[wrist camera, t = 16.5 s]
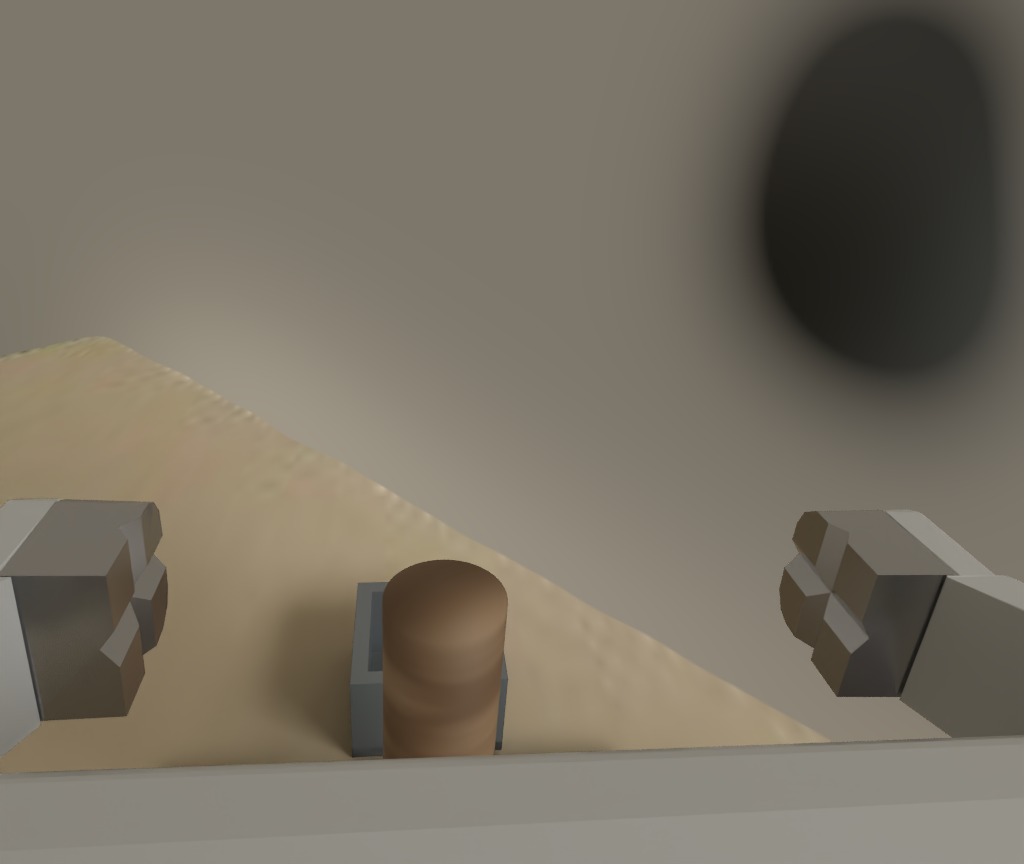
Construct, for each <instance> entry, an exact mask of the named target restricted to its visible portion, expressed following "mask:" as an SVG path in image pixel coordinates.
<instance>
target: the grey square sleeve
mask: <svg viewBox="0 0 1024 864" xmlns="http://www.w3.org/2000/svg"><path fill="white" fill-rule="evenodd" d="M388 583H389V582H378V583H358V591H357V603H356V615H355V628H354V640H353V653H352V665H351V677H350V702H351V731H352V757H363V756H383V640H382V597H383V592H384V590H385V587H386V586H387V584H388ZM507 683H508V676H507V669H506V663H505V656H504V651H503V662H502V674H501V685H500V696H499V707H498V718H497V730H496V741H495V750H501V748H502V737H503V727H504V716H505V705H506V694H507Z"/></svg>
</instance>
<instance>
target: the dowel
mask: <svg viewBox="0 0 1024 864" xmlns="http://www.w3.org/2000/svg"><path fill="white" fill-rule="evenodd" d="M507 607H508V598H507V593H506V591H505V588H504V587H503V585H502V583H501V582H500V581H499V580H498V579H497V578H496V577H495V576H494V575H493V574H491V573H490V572H488V571H487V570H485V569H483V568H481V567H479V566H476V565H473V564H470V563H467V562H462V561H456V560H433V561H427V562H422V563H419V564H415V565H413V566H410V567H408V568H406V569H404V570H402V571H401V572H399V573H398V574H397V575H395V576H394V577H393V578H392V579H391V580H390V581H389V583H388V584H387V586H386V587H385V590H384V592H383V597H382V640H383V759H401V758H428V757H455V756H481V755H494V752H495V741H496V730H497V718H498V707H499V696H500V685H501V674H502V662H503V651H504V640H505V629H506V618H507Z"/></svg>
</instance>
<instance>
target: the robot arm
mask: <svg viewBox="0 0 1024 864" xmlns="http://www.w3.org/2000/svg"><path fill="white" fill-rule="evenodd" d="M161 537H162V528H161V521H160V514H159V510H158V508H157V507H156V505H155V503H154V502H136V501H103V500H71V499H64V500H61V499H59V498H43V499H13V500H8V501H7V502H6V503H5V504H4V505H3V506H2V507H1V508H0V758H1V757H2V756H4V755H5V754H6V753H7V752H8V751H10V750H11V749H12V748H13V747H15V746H16V745H17V744H18V743H19V742H21V741H22V740H23V739H24V738H26V737H27V736H28V735H29V734H31V733H32V732H33V731H34V730H35V729H37V728H38V727H39V726H40V725H41V722H40V721H48V720H67V719H85V718H104V717H123V716H127V714H128V712H129V709H130V707H131V705H132V702H133V700H134V698H135V695H136V693H137V691H138V688H139V686H140V683H141V681H142V679H143V676H144V674H145V669H144V660H143V655H144V654H145V653H146V652H148V651H149V650H151V649H152V648H154V647H155V646H156V645H157V643H158V640H159V637H160V635H161V632H162V630H163V626H164V620H165V615H166V609H167V596H168V583H167V572H166V567H165V566H164V565H163V564H162V563H161V562H160V561H159V560H158V559H157V557H156V556H155V555H154V552H155V550H156V548H157V546H158V544H159V541H160V539H161ZM792 540H793V542H794V544H795V546H796V548H797V550H798V552H799V554H798V555H797V556H796V557H795V558H794V559H793V560H792V561H791V562H790V563H789V564H788V565H787V566H786V567H784V571H783V576H782V580H781V584H780V589H779V591H780V605H781V611H782V614H783V617H784V620H785V622H786V624H787V626H788V627H789V629H790V630H791V632H792V633H793V635H794V636H795V637H796V638H798V639H800V640H801V641H803V642H804V643H806V644H808V645H809V646H811V647H813V648H814V650H813V654H812V658H811V661H812V662H813V664H814V665H815V666H816V668H817V669H818V671H819V672H820V674H821V675H822V676H823V678H824V679H825V681H826V682H827V684H828V685H829V686H830V688H831V689H832V691H833V692H834V693H835V695H836V696H837V697H900V700H901V701H902V702H903V703H905V704H906V705H908V706H909V707H910V708H912V709H913V710H915V711H916V712H918V713H919V714H920V715H921V716H923V717H924V718H926V719H927V720H929V721H930V722H931V723H933V724H934V725H935V726H937V727H938V728H940V729H941V730H942V731H944V732H945V733H946V734H948V735H949V736H951V737H952V738H934V739H910V740H909V739H907V740H883V741H854V742H828V743H801V744H775V745H748V746H722V747H695V748H669V749H642V750H615V751H588V752H562V753H535V754H508V755H481V756H455V757H428V758H401V759H374V760H347V761H321V762H294V763H267V764H240V765H214V766H187V767H160V768H133V769H107V770H80V771H53V772H26V773H0V864H1024V583H1023V582H1020V581H1018V580H1015V579H1013V578H1011V577H1008V576H995V575H994V574H993V573H992V572H991V571H989V570H988V569H987V568H986V567H984V565H982V564H981V563H980V562H979V561H978V560H976V559H975V558H974V557H973V556H972V555H970V554H969V553H968V552H967V551H966V550H965V549H963V548H962V547H961V546H960V545H959V544H957V543H956V542H955V541H954V540H953V539H952V538H950V537H949V536H948V535H947V534H945V533H944V532H943V531H942V530H941V529H940V528H938V527H937V526H936V525H935V524H934V523H933V522H931V521H930V520H929V519H928V518H927V517H925V516H924V515H923V514H922V513H920V512H916V511H913V510H862V511H861V510H860V511H811V512H804V514H803V515H802V517H801V518H800V520H799V521H798V522H797V525H796V528H795V532H794V535H793V539H792Z"/></svg>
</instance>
